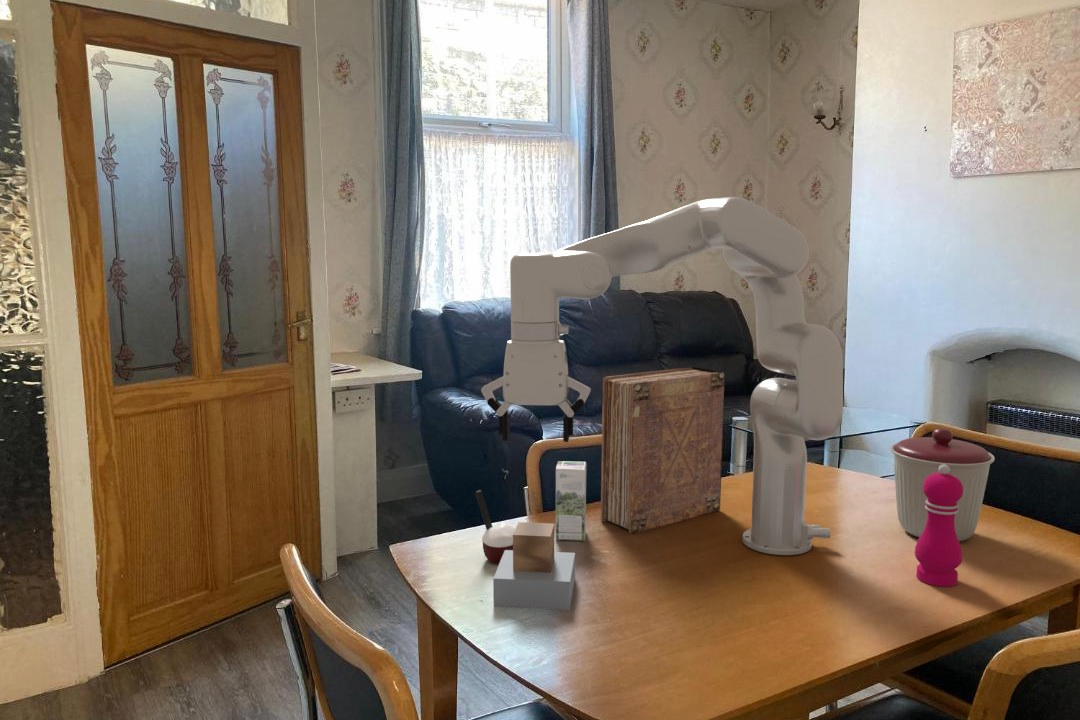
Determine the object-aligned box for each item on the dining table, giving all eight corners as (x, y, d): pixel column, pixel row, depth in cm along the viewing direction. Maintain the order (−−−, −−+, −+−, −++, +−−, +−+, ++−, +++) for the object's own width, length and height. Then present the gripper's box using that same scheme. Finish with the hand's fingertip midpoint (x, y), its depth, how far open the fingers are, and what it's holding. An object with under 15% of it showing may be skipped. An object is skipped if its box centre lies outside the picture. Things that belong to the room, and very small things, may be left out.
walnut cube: (554, 558, 135) (554, 523, 134) (550, 572, 129) (550, 536, 128) (518, 556, 136) (518, 522, 135) (513, 570, 130) (512, 534, 129)
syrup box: (586, 531, 161) (586, 460, 159) (585, 542, 155) (585, 468, 153) (557, 530, 161) (557, 459, 159) (555, 541, 156) (555, 467, 154)
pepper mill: (941, 591, 133) (950, 472, 130) (903, 575, 139) (911, 462, 136) (970, 583, 136) (978, 467, 133) (931, 568, 143) (939, 457, 140)
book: (629, 534, 159) (631, 383, 155) (600, 521, 167) (601, 377, 163) (720, 510, 173) (725, 371, 169) (689, 499, 181) (693, 366, 177)
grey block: (574, 580, 138) (575, 552, 138) (569, 612, 127) (569, 581, 126) (505, 577, 140) (504, 550, 139) (493, 608, 128) (493, 578, 127)
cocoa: (526, 565, 145) (530, 501, 143) (497, 572, 141) (500, 506, 139) (498, 547, 153) (501, 486, 151) (469, 553, 149) (472, 490, 147)
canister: (886, 542, 155) (892, 434, 152) (885, 513, 171) (890, 415, 168) (994, 556, 148) (1003, 443, 145) (981, 524, 164) (989, 422, 161)
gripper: (591, 330, 130) (591, 434, 132) (484, 330, 132) (486, 433, 134) (589, 335, 123) (589, 446, 125) (476, 335, 124) (478, 444, 127)
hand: (536, 439), depth 130 cm, fingers open, 9 cm apart
